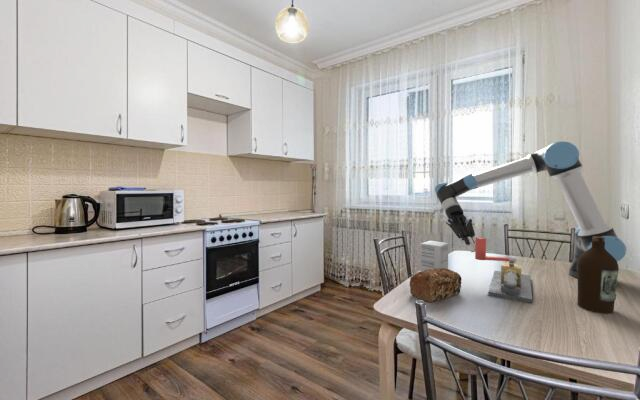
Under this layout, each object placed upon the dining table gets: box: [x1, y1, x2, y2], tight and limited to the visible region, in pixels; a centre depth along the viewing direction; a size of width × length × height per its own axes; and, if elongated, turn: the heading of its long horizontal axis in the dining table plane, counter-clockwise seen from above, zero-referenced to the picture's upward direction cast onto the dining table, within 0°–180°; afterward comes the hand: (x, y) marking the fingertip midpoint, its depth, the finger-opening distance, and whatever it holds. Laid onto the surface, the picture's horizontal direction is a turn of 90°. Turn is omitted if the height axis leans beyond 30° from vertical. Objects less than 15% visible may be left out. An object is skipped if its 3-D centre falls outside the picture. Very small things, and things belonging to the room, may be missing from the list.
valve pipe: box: [487, 261, 533, 304], centre depth 128 cm, size 34×14×11 cm, turn 146°
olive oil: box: [577, 236, 620, 314], centre depth 106 cm, size 11×11×25 cm
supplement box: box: [419, 240, 449, 272], centre depth 137 cm, size 10×9×17 cm
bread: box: [409, 268, 462, 303], centre depth 119 cm, size 19×11×10 cm, turn 120°
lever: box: [474, 237, 517, 263], centre depth 129 cm, size 16×4×9 cm, turn 76°
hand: (474, 250), depth 134 cm, fingers closed
